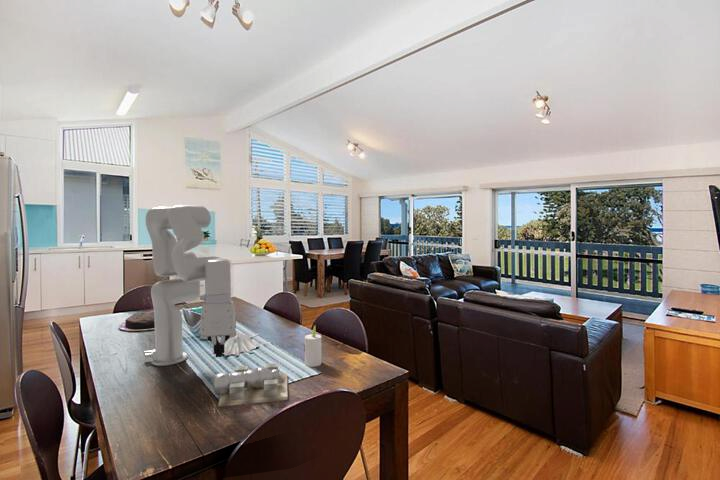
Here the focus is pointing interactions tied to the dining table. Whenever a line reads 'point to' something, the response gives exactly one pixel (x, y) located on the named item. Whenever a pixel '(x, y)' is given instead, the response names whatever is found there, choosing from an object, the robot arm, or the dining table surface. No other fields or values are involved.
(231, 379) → the plastic bottle
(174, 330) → the robot arm
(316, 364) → the candle
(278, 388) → the cradle
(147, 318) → the chocolate cake
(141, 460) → the dining table surface
